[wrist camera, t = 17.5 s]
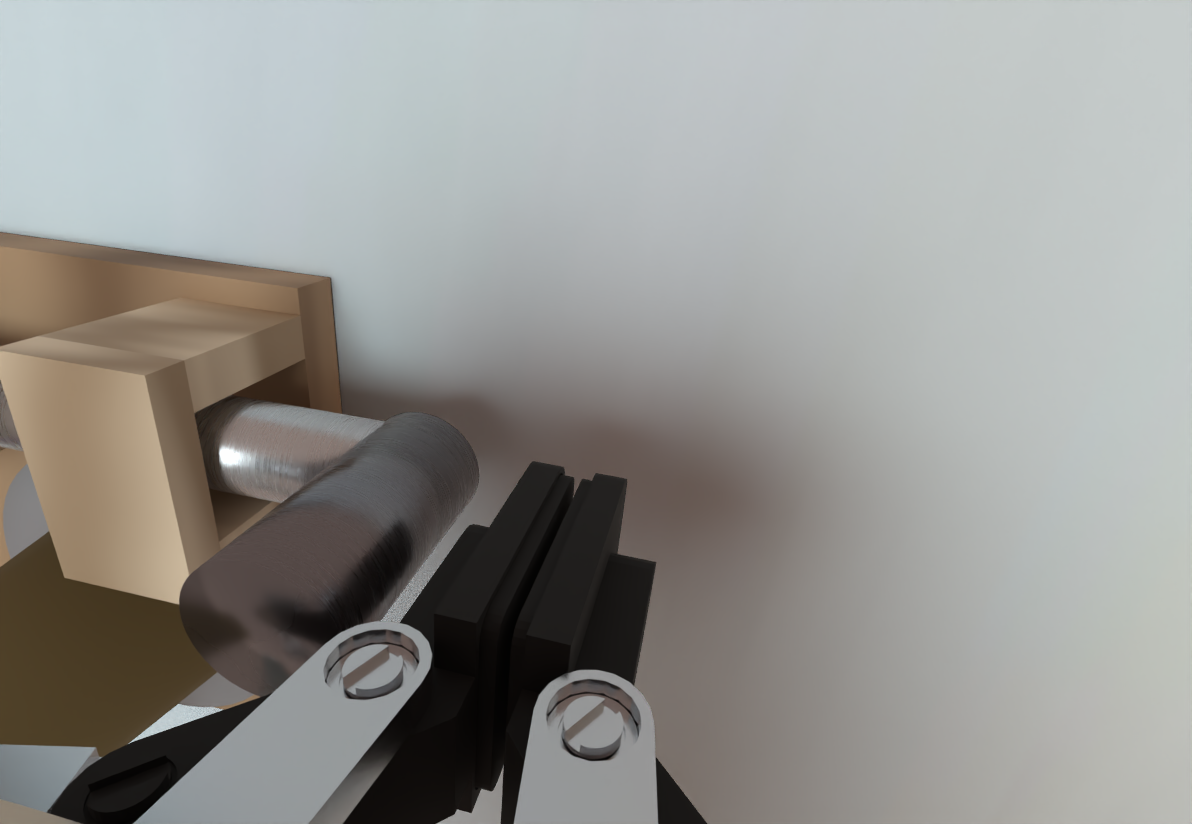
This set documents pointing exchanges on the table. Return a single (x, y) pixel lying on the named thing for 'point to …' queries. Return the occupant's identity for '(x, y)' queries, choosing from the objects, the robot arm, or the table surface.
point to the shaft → (312, 527)
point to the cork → (86, 657)
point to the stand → (143, 405)
